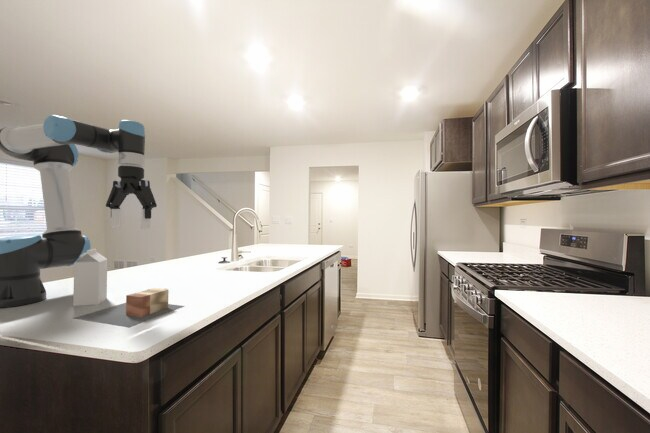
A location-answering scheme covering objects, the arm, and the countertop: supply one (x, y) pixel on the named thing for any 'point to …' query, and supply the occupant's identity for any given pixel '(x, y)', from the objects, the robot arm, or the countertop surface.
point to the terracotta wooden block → (146, 302)
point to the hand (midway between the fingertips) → (130, 228)
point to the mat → (123, 315)
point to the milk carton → (90, 279)
